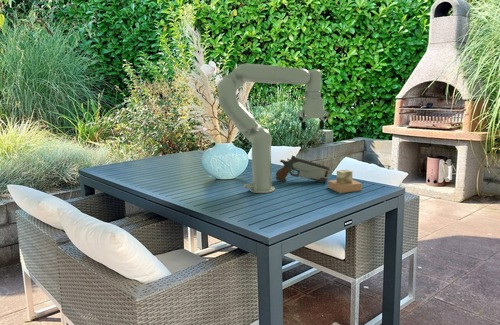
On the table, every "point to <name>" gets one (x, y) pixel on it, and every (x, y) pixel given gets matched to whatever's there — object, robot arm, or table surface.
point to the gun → (303, 170)
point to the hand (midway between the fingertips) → (312, 129)
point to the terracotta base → (344, 186)
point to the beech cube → (344, 176)
